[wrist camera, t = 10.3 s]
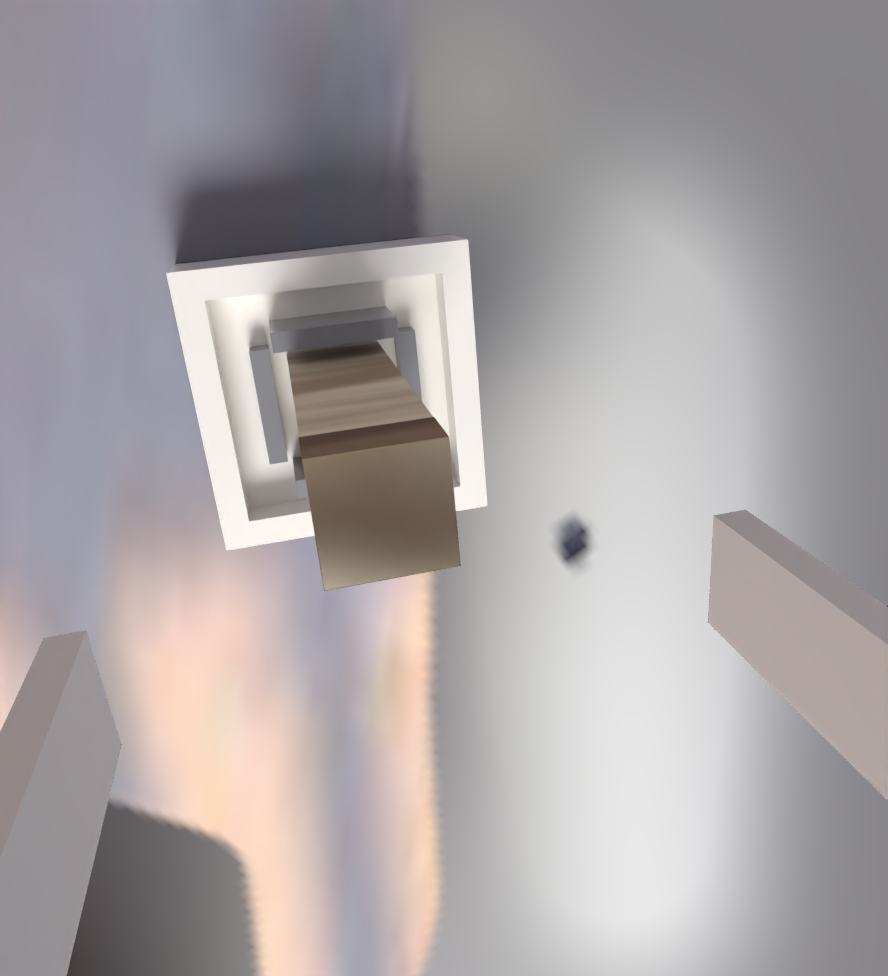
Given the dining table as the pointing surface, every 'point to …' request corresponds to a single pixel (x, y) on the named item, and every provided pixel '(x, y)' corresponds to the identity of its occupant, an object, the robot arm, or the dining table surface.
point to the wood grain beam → (372, 468)
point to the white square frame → (317, 326)
